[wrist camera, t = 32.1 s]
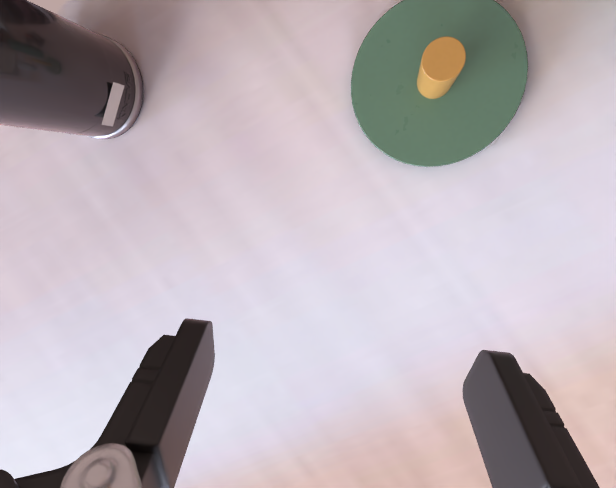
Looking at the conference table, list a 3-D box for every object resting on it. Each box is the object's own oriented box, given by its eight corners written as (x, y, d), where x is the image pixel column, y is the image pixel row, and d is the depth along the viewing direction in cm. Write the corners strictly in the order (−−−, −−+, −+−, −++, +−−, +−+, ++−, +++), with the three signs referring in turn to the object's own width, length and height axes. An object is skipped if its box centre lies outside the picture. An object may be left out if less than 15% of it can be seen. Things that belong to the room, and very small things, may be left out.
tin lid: (333, 142, 31) (316, 133, 25) (382, -22, 28) (378, -79, 22) (481, 186, 29) (505, 190, 23) (553, 15, 26) (604, -37, 20)
